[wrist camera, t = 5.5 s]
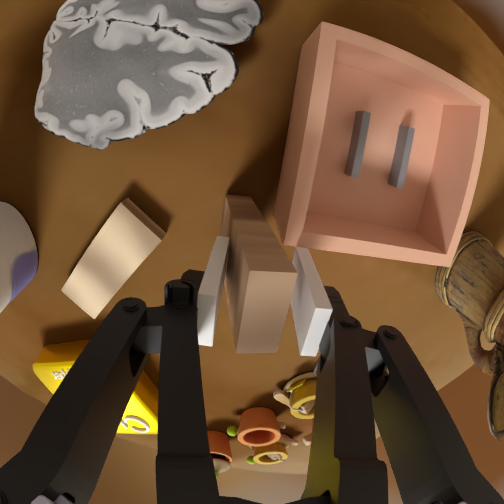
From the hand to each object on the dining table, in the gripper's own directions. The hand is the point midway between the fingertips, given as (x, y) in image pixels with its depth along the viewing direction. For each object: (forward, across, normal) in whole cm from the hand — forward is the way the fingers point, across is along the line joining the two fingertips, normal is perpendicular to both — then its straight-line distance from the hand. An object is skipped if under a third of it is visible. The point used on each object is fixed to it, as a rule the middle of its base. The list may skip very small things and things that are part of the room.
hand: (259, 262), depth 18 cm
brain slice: (+6, -11, +15) cm, 20 cm away
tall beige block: (+6, -2, 0) cm, 6 cm away
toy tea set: (+8, +7, -29) cm, 31 cm away
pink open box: (+6, +8, +8) cm, 13 cm away
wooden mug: (+8, +24, -3) cm, 25 cm away
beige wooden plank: (+6, -13, -5) cm, 15 cm away
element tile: (+6, -17, -23) cm, 30 cm away
